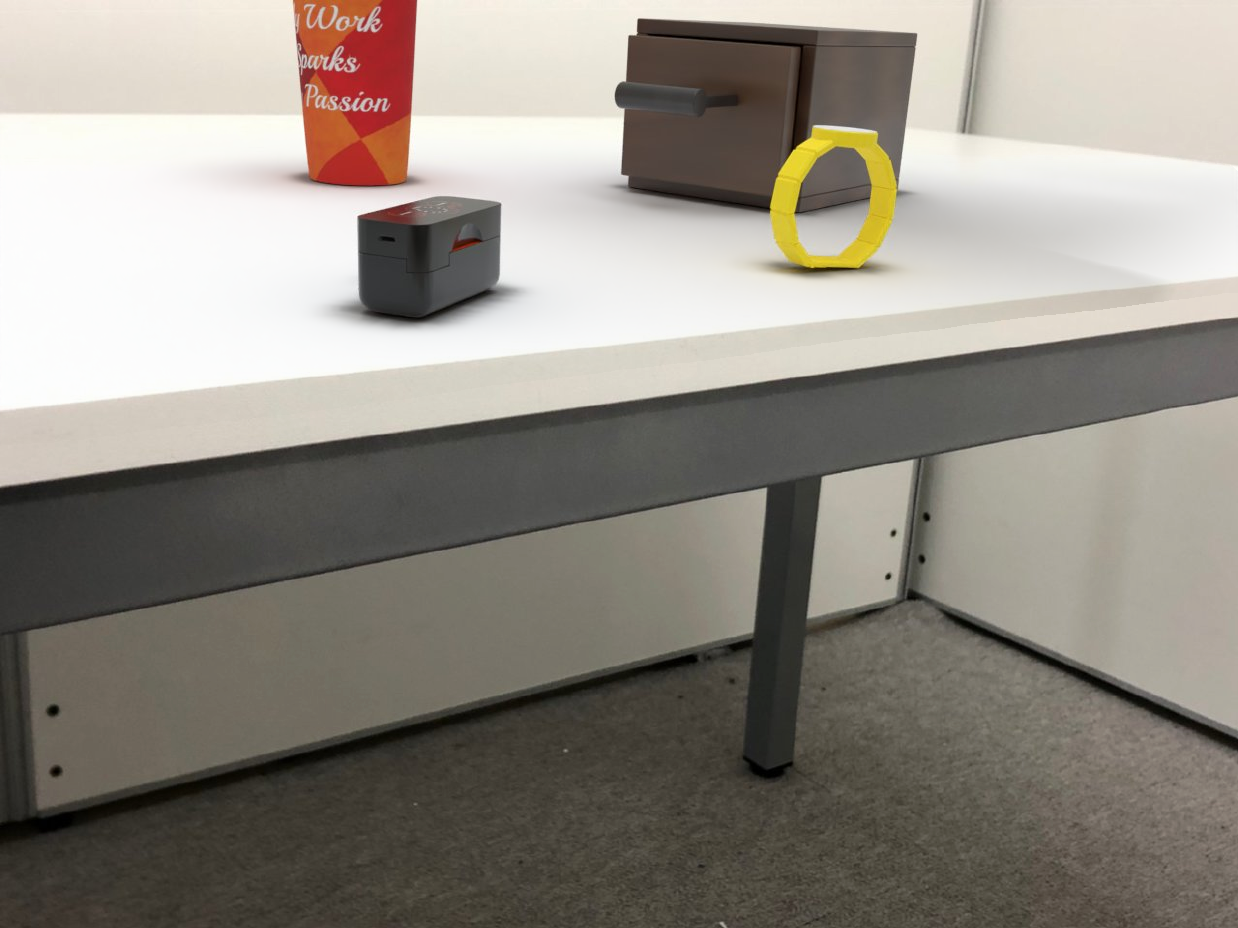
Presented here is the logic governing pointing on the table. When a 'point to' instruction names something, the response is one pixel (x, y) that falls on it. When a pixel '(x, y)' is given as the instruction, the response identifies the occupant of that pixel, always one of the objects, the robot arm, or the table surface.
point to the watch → (797, 171)
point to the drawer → (709, 111)
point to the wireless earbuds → (428, 254)
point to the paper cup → (356, 88)
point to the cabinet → (820, 101)
